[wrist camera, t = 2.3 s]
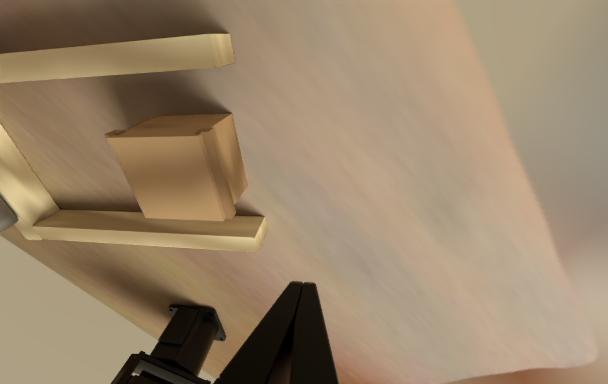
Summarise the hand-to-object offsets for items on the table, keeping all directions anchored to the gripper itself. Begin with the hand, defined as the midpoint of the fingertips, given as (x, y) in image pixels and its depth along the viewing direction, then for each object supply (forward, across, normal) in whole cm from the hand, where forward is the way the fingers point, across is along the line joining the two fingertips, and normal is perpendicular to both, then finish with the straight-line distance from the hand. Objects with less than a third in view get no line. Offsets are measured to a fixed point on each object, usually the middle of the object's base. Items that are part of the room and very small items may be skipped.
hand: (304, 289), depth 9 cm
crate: (+12, +10, 0) cm, 16 cm away
